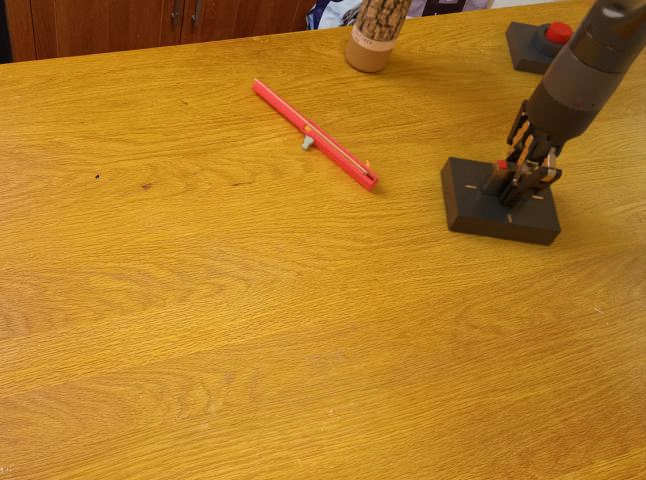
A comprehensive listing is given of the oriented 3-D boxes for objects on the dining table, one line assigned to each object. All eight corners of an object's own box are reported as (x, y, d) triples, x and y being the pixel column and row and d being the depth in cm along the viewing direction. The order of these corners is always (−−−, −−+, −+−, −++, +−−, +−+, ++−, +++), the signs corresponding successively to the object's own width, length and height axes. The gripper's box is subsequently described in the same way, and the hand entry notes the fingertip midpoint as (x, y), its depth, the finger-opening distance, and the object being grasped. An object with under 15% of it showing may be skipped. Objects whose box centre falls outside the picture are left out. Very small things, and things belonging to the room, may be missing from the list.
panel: (535, 187, 105) (547, 171, 102) (549, 246, 99) (562, 230, 96) (440, 172, 104) (449, 155, 101) (448, 230, 98) (458, 214, 95)
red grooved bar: (358, 200, 100) (383, 180, 101) (360, 192, 98) (385, 171, 99) (241, 99, 108) (264, 80, 109) (240, 89, 106) (264, 70, 107)
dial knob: (526, 192, 100) (545, 166, 96) (528, 200, 99) (547, 175, 95) (480, 184, 99) (496, 158, 95) (481, 193, 98) (498, 167, 94)
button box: (573, 44, 125) (586, 23, 122) (585, 82, 120) (599, 61, 117) (505, 32, 125) (516, 11, 121) (514, 70, 119) (526, 48, 116)
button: (564, 33, 120) (570, 23, 119) (568, 46, 118) (575, 37, 117) (543, 29, 120) (549, 19, 119) (547, 42, 118) (553, 33, 117)
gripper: (621, 134, 81) (539, 236, 95) (594, 53, 89) (522, 159, 103) (556, 123, 81) (483, 227, 95) (534, 43, 88) (470, 151, 103)
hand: (504, 191), depth 99 cm, fingers closed on panel, 3 cm apart
